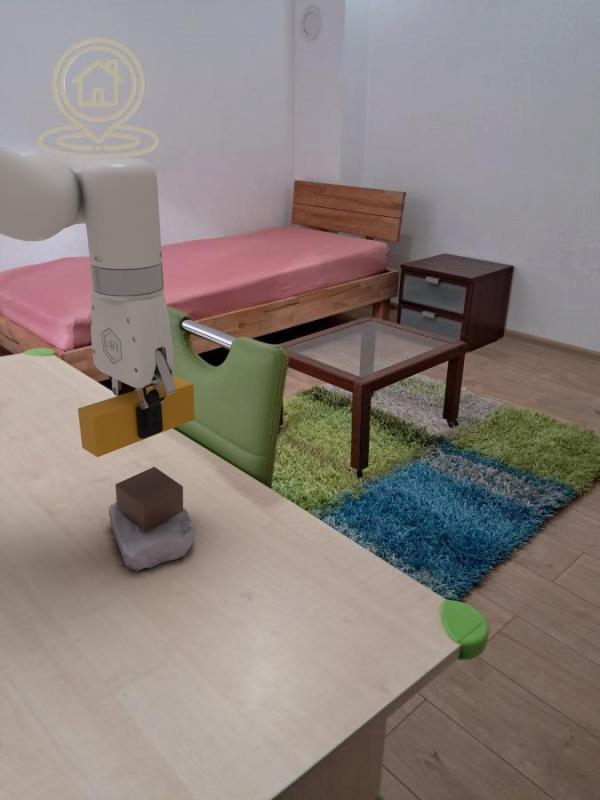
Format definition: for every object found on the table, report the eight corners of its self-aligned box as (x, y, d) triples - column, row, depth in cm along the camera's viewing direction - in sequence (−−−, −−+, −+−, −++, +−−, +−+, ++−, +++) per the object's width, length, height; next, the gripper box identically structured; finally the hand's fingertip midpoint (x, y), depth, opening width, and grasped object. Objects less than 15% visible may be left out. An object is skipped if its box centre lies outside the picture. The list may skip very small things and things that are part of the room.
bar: (82, 447, 73) (77, 408, 71) (179, 412, 82) (177, 376, 80) (97, 457, 71) (93, 417, 69) (194, 419, 81) (193, 383, 79)
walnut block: (116, 509, 81) (115, 484, 80) (155, 490, 85) (154, 466, 84) (145, 532, 78) (143, 505, 76) (183, 511, 82) (183, 486, 80)
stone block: (174, 517, 91) (102, 523, 86) (178, 488, 89) (106, 493, 84) (201, 568, 81) (122, 579, 76) (207, 537, 79) (127, 545, 74)
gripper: (57, 271, 71) (76, 417, 79) (144, 300, 61) (156, 464, 69) (115, 261, 76) (127, 400, 84) (203, 287, 67) (209, 441, 74)
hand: (140, 427), depth 76 cm, fingers closed on bar, 3 cm apart
